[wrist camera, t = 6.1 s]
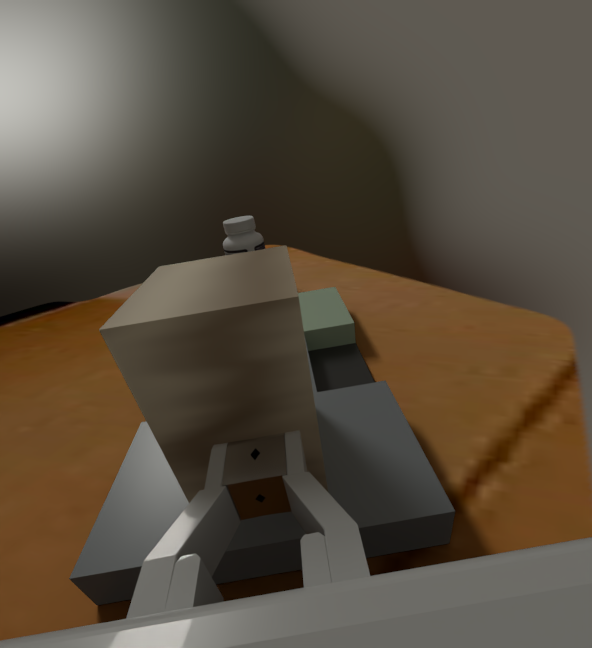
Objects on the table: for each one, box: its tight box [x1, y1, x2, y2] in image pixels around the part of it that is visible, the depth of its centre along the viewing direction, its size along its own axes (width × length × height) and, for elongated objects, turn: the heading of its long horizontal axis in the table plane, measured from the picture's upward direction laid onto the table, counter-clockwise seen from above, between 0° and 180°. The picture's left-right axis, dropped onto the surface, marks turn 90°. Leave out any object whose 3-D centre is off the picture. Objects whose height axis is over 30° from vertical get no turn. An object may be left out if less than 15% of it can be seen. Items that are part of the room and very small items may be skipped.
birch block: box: [99, 246, 328, 503], centre depth 14 cm, size 6×6×10 cm
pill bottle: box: [223, 216, 265, 255], centre depth 42 cm, size 5×5×10 cm
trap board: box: [69, 287, 455, 605], centre depth 24 cm, size 16×25×2 cm, turn 5°
